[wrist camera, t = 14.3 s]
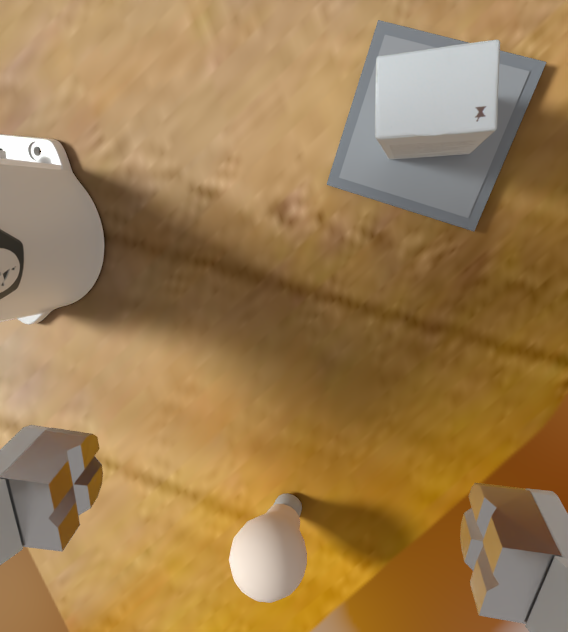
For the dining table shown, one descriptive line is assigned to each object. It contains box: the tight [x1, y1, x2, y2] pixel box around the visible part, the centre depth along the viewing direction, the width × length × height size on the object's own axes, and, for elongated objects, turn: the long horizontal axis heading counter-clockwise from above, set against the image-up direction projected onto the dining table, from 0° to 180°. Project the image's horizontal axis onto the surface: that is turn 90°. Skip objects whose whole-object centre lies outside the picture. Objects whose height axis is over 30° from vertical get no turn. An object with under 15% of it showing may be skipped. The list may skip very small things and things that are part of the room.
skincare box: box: [375, 40, 500, 159], centre depth 29 cm, size 6×4×12 cm
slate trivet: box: [327, 20, 546, 231], centre depth 35 cm, size 12×12×1 cm
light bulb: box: [229, 494, 307, 603], centre depth 41 cm, size 7×7×11 cm
